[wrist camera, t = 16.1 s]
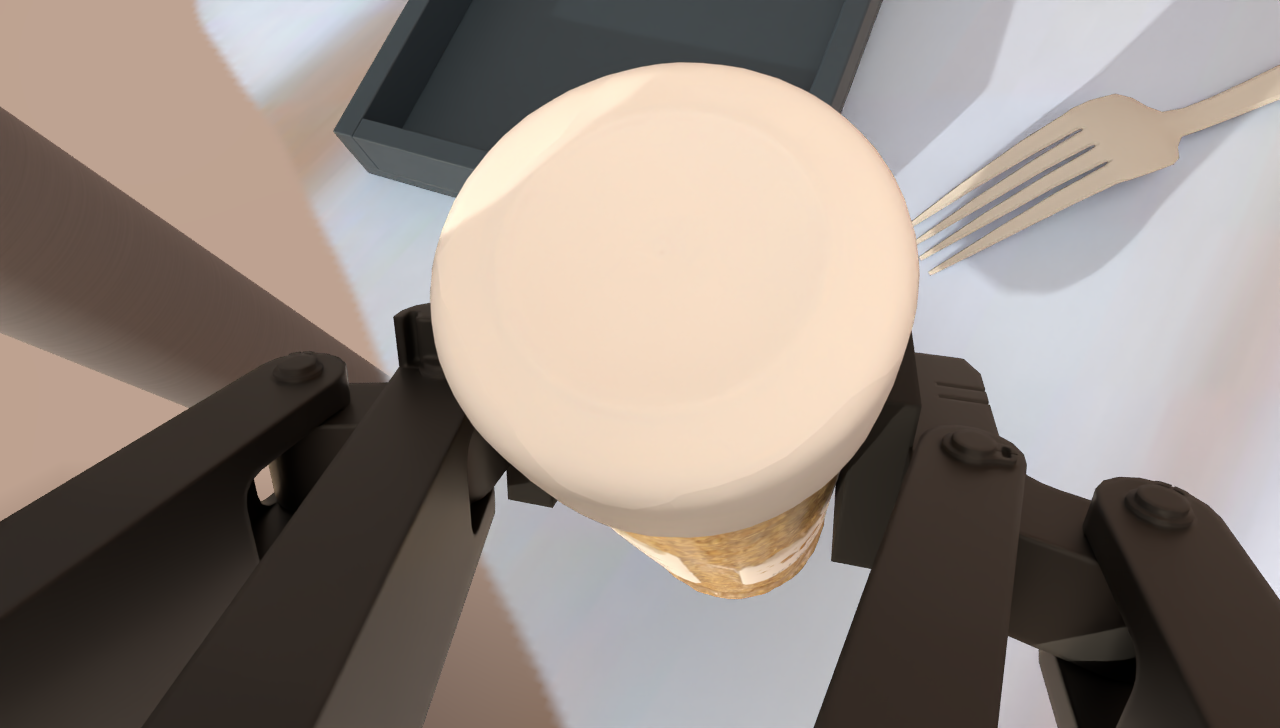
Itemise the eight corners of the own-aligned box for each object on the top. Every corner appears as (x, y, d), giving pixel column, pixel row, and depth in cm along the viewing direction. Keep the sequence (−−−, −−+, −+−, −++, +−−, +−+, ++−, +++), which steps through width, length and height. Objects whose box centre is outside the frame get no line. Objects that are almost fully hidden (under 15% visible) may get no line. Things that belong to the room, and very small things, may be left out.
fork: (1498, 64, 25) (1589, -5, 23) (938, 289, 23) (970, 241, 21) (1434, 6, 26) (1515, -66, 24) (893, 217, 24) (917, 163, 22)
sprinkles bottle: (844, 582, 18) (1006, 449, 6) (655, 614, 19) (424, 556, 6) (800, 401, 20) (853, -9, 7) (627, 433, 20) (402, 99, 8)
